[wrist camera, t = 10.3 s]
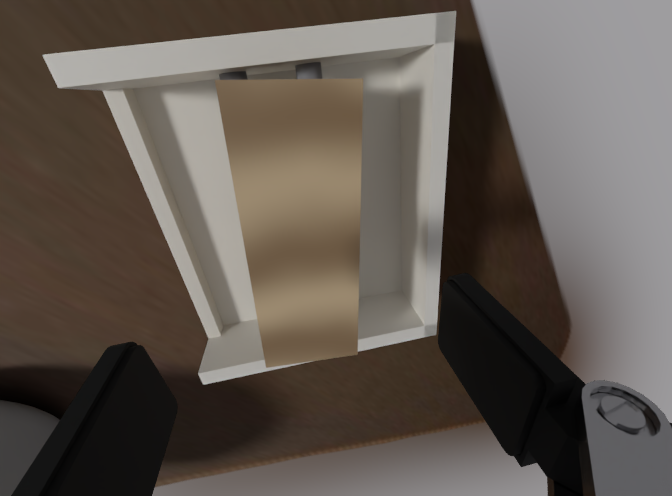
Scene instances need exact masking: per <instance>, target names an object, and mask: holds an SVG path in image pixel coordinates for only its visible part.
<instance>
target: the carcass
mask: <svg viewBox="0 0 672 496" xmlns="http://www.w3.org/2000/svg"><path fill="white" fill-rule="evenodd" d="M455 21H456V11H451V12H442V13H432V14H423V15H413V16H404V17H395V18H385V19H376V20H366V21H357V22H347V23H338V24H329V25H319V26H310V27H300V28H291V29H281V30H272V31H263V32H253V33H244V34H234V35H225V36H215V37H206V38H197V39H187V40H178V41H168V42H159V43H149V44H140V45H131V46H121V47H112V48H102V49H93V50H83V51H74V52H65V53H55V54H46V55H43V57H44V59H45V61H46V64H47V66H48V68H49V70H50V72H51V74H52V76H53V78H54V80H55V82H56V84H57V86H58V88H66V89H84V90H102V91H103V93H104V95H105V98H106V100H107V102H108V105H109V107H110V109H111V112H112V114H113V116H114V119H115V121H116V123H117V126H118V128H119V130H120V133H121V135H122V137H123V140H124V142H125V144H126V147H127V149H128V151H129V154H130V156H131V158H132V161H133V163H134V165H135V168H136V170H137V172H138V175H139V177H140V179H141V182H142V184H143V186H144V189H145V191H146V193H147V196H148V198H149V200H150V203H151V205H152V207H153V210H154V212H155V214H156V217H157V219H158V221H159V224H160V226H161V228H162V231H163V233H164V235H165V238H166V240H167V242H168V245H169V247H170V249H171V252H172V254H173V256H174V259H175V261H176V263H177V266H178V268H179V270H180V273H181V275H182V277H183V280H184V282H185V284H186V287H187V289H188V291H189V294H190V296H191V298H192V301H193V303H194V305H195V308H196V310H197V312H198V315H199V317H200V319H201V322H202V324H203V326H204V329H205V331H206V334H207V336H208V338H209V339H208V342H207V346H206V349H205V352H204V356H203V359H202V362H201V365H200V369H199V372H198V375H199V377H200V379H201V381H202V383H203V385H205V384H210V383H214V382H219V381H224V380H228V379H233V378H237V377H242V376H247V375H251V374H256V373H261V372H265V371H270V370H275V369H279V368H284V367H289V366H293V365H298V364H302V363H296V364H289V365H282V366H275V367H268V368H266V365H265V359H264V354H263V348H262V342H261V337H260V331H259V326H258V320H257V314H256V309H255V303H254V298H253V292H252V286H251V281H250V275H249V269H248V264H247V258H246V253H245V247H244V241H243V236H242V230H241V225H240V219H239V213H238V208H237V202H236V197H235V191H234V185H233V180H232V174H231V169H230V163H229V157H228V152H227V146H226V141H225V135H224V129H223V124H222V118H221V113H220V107H219V101H218V96H217V90H216V85H215V80H265V79H361V78H363V118H362V166H361V214H360V261H359V309H358V351H363V350H367V349H372V348H377V347H381V346H386V345H391V344H395V343H400V342H405V341H409V340H414V339H418V338H423V337H428V336H432V335H436V331H437V315H438V299H439V282H440V266H441V250H442V233H443V217H444V201H445V184H446V168H447V152H448V135H449V119H450V103H451V86H452V70H453V54H454V37H455ZM310 362H312V361H310ZM303 363H307V362H303Z"/></svg>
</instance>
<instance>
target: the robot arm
mask: <svg viewBox="0 0 672 496" xmlns="http://www.w3.org/2000/svg"><path fill="white" fill-rule="evenodd" d="M438 344H439V347H440V350H441V352H442V353H443V355H444V356H445V358H446V360H447V361H448V363H449V364H450V366H451V367H452V369H453V371H454V372H455V374H456V375H457V377H458V378H459V380H460V382H461V383H462V385H463V386H464V388H465V389H466V391H467V393H468V394H469V396H470V397H471V399H472V400H473V402H474V404H475V405H476V407H477V408H478V410H479V411H480V413H481V415H482V416H483V418H484V419H485V421H486V422H487V424H488V425H489V427H490V429H491V430H492V432H493V433H494V435H495V436H496V438H497V440H498V441H499V443H500V444H501V446H502V448H503V449H504V450H505V452H506V453H507V454H508V455H510V456H514V457H515V458H516V460H517V462H518V463H519V465H520V466H521V467H523V466H526V465H530V464H534V463H538V465H539V466H540V467H541V469H542V470H543V472H544V473H545V475H546V476H547V483H548V496H672V423H669V421H668V420H667V418H666V416H665V414H664V413H663V412H662V411H661V410H660V409H659V408H658V407H657V406H656V405H655V404H654V403H653V402H652V401H650V400H649V399H648V398H646V397H645V396H644V395H642V394H640V393H639V392H637V391H635V390H633V389H631V388H629V387H627V386H624V385H621V384H618V383H615V382H610V381H605V380H603V381H593V382H590V383H587V384H585V383H584V382H583V381H582V380H581V379H580V378H579V377H577V376H576V375H575V374H574V373H573V372H572V371H571V370H570V369H569V368H568V367H567V366H566V365H565V364H564V363H563V362H562V361H561V360H560V359H558V358H557V357H556V356H555V355H554V354H553V353H552V352H551V351H550V350H549V349H548V348H547V347H546V346H545V345H544V344H543V343H542V342H541V341H539V340H538V339H537V338H536V337H535V336H534V335H533V334H532V333H531V332H530V331H529V330H528V329H527V328H526V327H525V326H524V325H523V324H521V323H520V322H519V321H518V320H517V319H516V318H515V317H514V316H513V315H512V314H511V313H510V312H509V311H508V310H506V309H505V308H504V307H503V306H502V305H501V304H500V303H499V302H498V301H497V300H496V299H495V298H494V297H493V296H492V295H491V294H490V293H489V292H487V291H486V290H485V289H484V288H483V287H482V286H481V285H480V284H479V283H478V282H477V281H476V280H475V279H474V278H473V277H472V276H471V275H469V274H468V273H463V274H459V275H454V276H450V277H448V279H447V282H444V283H443V289H442V300H441V312H440V323H439V335H438ZM177 408H178V407H177V401H176V399H175V397H174V396H173V394H172V393H171V391H170V389H169V388H168V386H167V384H166V383H165V381H164V380H163V378H162V376H161V375H160V373H159V371H158V370H157V368H156V367H155V365H154V363H153V362H152V360H151V358H150V357H149V355H148V354H147V352H146V350H145V349H144V347H143V346H141V345H137V344H136V343H135V342H128V343H123V344H118V345H113V346H110V347H108V348H107V349H106V350H105V352H104V353H103V355H102V356H101V358H100V359H99V361H98V363H97V364H96V366H95V367H94V369H93V370H92V372H91V373H90V375H89V376H88V378H87V379H86V381H85V383H84V384H83V386H82V387H81V389H80V390H79V392H78V393H77V395H76V396H75V398H74V399H73V401H72V403H71V404H70V406H69V407H68V409H67V410H66V412H65V413H64V415H63V416H62V418H61V419H60V421H59V423H58V424H57V426H56V427H55V429H54V430H53V432H52V433H51V435H50V436H49V438H48V439H47V441H46V443H45V444H44V446H43V447H42V449H41V450H40V452H39V453H38V455H37V456H36V458H35V459H34V461H33V463H32V464H31V466H30V467H29V469H28V470H27V472H26V473H25V475H24V476H23V478H22V479H21V481H20V483H19V484H18V486H17V487H16V489H15V490H14V492H13V493H12V495H11V496H152V494H153V490H154V487H155V484H156V481H157V477H158V474H159V471H160V467H161V464H162V461H163V457H164V454H165V451H166V447H167V444H168V441H169V438H170V434H171V431H172V428H173V424H174V421H175V418H176V414H177Z"/></svg>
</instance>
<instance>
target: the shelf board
mask: <svg viewBox="0 0 672 496" xmlns="http://www.w3.org/2000/svg"><path fill="white" fill-rule="evenodd" d="M215 85H216V90H217V96H218V101H219V107H220V113H221V118H222V124H223V129H224V135H225V141H226V146H227V152H228V157H229V163H230V169H231V174H232V180H233V185H234V191H235V197H236V202H237V208H238V213H239V219H240V225H241V230H242V236H243V241H244V247H245V253H246V258H247V264H248V269H249V275H250V281H251V286H252V292H253V298H254V303H255V309H256V314H257V320H258V326H259V331H260V337H261V342H262V348H263V354H264V359H265V365H266V368H268V367H275V366H282V365H289V364H296V363H303V362H310V361H317V360H324V359H331V358H337V357H344V356H351V355H358V309H359V261H360V214H361V166H362V118H363V78H361V79H265V80H215Z"/></svg>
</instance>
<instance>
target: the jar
mask: <svg viewBox="0 0 672 496" xmlns="http://www.w3.org/2000/svg"><path fill="white" fill-rule="evenodd" d="M59 421H60V420H59V419H58V418H56V417H55V416H53V415H51V414H49V413H47V412H45V411H42V410H40V409H37V408H35V407H32V406H28V405H24V404H20V403H15V402H9V401H2V400H0V496H11V495H12V493H13V492H14V490H15V489H16V487H17V486H18V484H19V483H20V481H21V479H22V478H23V476H24V475H25V473H26V472H27V470H28V469H29V467H30V466H31V464H32V463H33V461H34V459H35V458H36V456H37V455H38V453H39V452H40V450H41V449H42V447H43V446H44V444H45V443H46V441H47V439H48V438H49V436H50V435H51V433H52V432H53V430H54V429H55V427H56V426H57V424H58V423H59Z"/></svg>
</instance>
